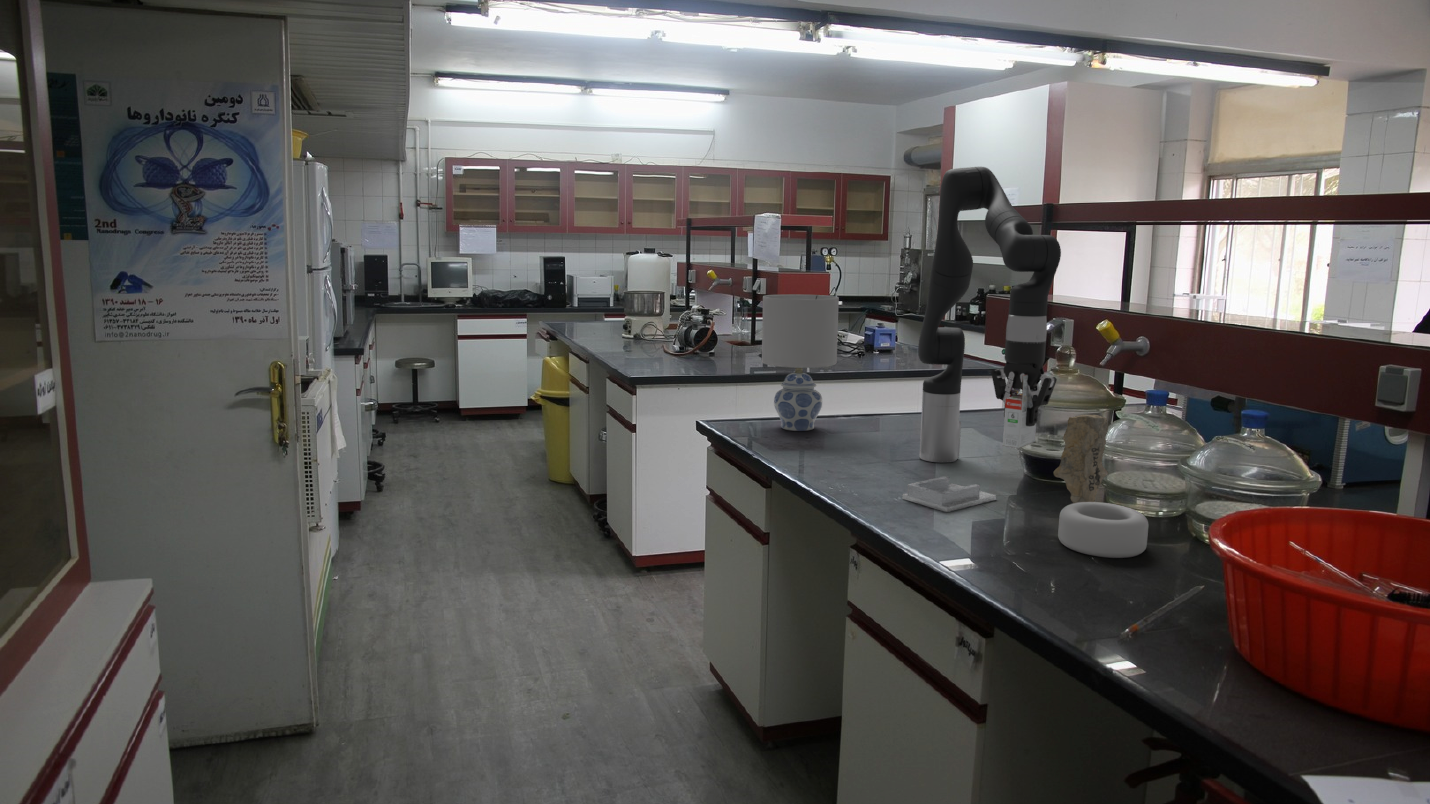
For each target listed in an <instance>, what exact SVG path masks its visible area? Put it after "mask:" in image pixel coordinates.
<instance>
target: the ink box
mask: <svg viewBox="0 0 1430 804" xmlns="http://www.w3.org/2000/svg"><path fill="white" fill-rule="evenodd" d="M1027 379H1028V374H1026V375H1023V376H1022V390H1021V392H1022V393H1018V394H1017V395H1015V396H1012V397H1008V398H1006V403H1004V406H1005V417H1004V416H1003V418H1004V421H1003V434H1002V447H1005V448H1014V449H1021V448H1022V449H1023V448H1024V447H1026V446H1029V445H1031V444H1033V443H1035V442H1036V431H1037V423H1035V425H1034V426H1030V427H1029V426H1026V413H1027V408H1028V405H1027V396H1026V390H1027ZM1039 383H1040V382H1039ZM1039 383H1038V385H1039ZM1039 386H1040V385H1039ZM1032 390H1033V389H1032ZM1032 390H1030V391H1031V392H1032Z"/></svg>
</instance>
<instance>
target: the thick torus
mask: <svg viewBox="0 0 1430 804" xmlns="http://www.w3.org/2000/svg"><path fill="white" fill-rule="evenodd" d="M1058 519H1059V520H1058V532H1057V537H1058V539H1059V542H1060V544H1062V545H1064V547H1066V548H1068V549H1070V550H1072V551H1074V552H1078V553H1081V554H1085V555H1089V556H1093V557H1099V558H1110V559H1123V558H1124V559H1125V558H1132V557H1136V556H1139V555H1141V554H1142V553H1143V552H1145V550H1146V549H1147V547H1148V546H1147V545H1148V533H1149V520H1148V519H1147V517H1146V516H1145V515H1143V513H1141V512H1139V511H1137V510H1136V509H1134V508H1130V507H1128V506H1123V505H1119V504H1115V503H1108V502H1097V501H1095V502H1079V503H1073V502H1072V503H1070V504H1068V505H1066V506H1064V507H1063V508H1062V509H1061V510H1060V513H1059V517H1058Z"/></svg>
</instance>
